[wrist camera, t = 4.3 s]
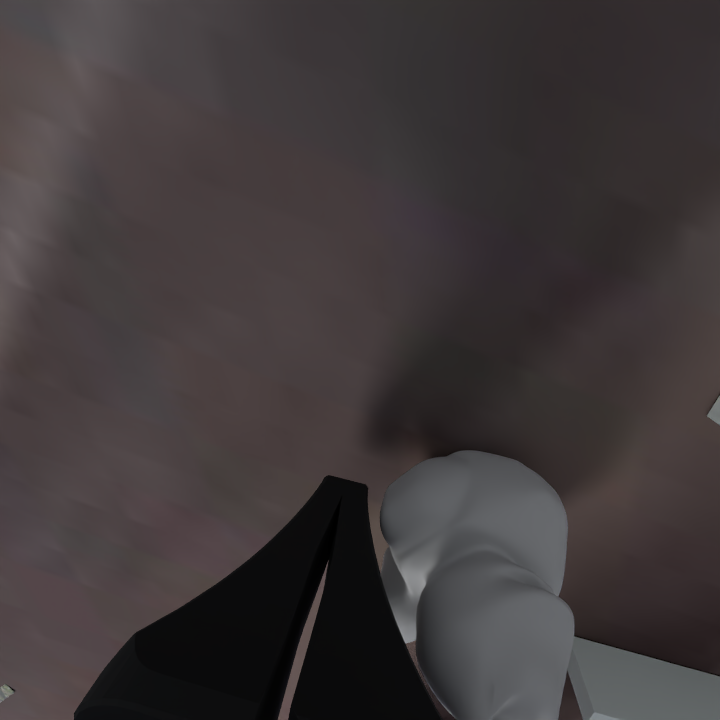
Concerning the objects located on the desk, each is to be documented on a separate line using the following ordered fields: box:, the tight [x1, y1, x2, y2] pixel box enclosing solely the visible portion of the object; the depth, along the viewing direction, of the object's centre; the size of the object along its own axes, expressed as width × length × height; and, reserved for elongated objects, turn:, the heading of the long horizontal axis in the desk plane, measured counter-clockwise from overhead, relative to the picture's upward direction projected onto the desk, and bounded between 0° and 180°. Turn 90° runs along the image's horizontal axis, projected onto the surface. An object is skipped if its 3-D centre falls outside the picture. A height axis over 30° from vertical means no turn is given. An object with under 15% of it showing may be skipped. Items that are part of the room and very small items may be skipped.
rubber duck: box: [380, 450, 574, 720], centre depth 10 cm, size 5×7×8 cm
